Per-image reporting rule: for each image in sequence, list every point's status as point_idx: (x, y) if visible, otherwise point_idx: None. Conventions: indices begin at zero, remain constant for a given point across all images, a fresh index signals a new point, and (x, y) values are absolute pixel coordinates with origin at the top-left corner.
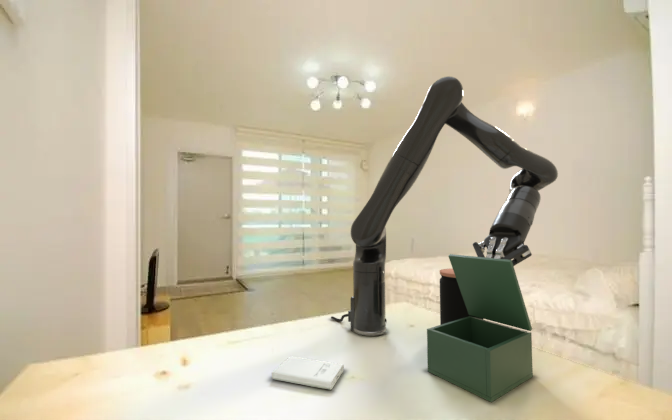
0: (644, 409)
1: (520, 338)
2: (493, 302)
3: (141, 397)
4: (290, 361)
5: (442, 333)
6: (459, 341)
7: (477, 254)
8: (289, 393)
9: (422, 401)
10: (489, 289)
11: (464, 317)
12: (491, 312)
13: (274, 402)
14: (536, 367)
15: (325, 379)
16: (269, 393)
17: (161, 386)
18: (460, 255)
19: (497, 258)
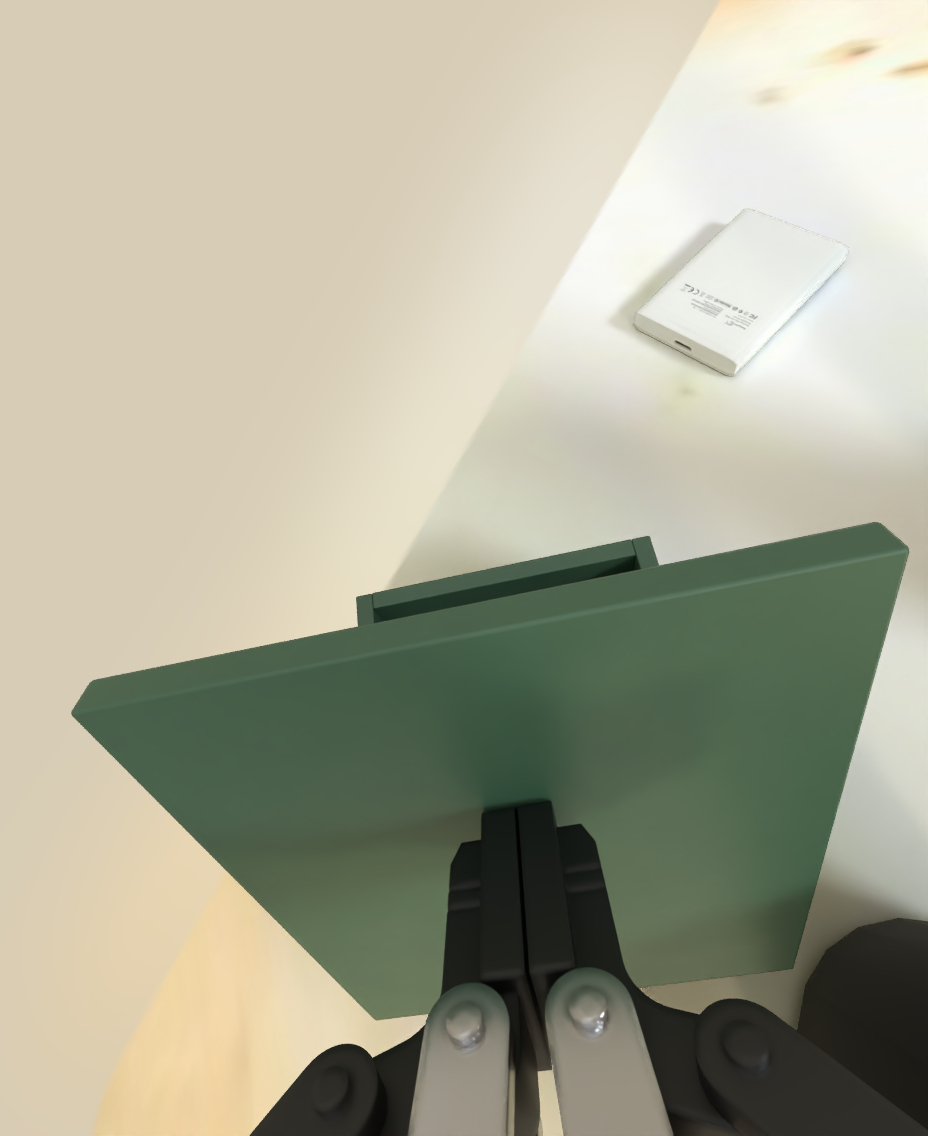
0: (136, 1079)
1: None
2: None
3: (745, 54)
4: (801, 243)
5: (569, 558)
6: (481, 572)
7: (866, 1097)
8: (658, 255)
9: (497, 494)
10: None
11: (881, 1008)
12: None
13: (633, 231)
14: None
15: (657, 304)
16: (675, 223)
17: (784, 66)
18: (708, 576)
19: (440, 1083)
